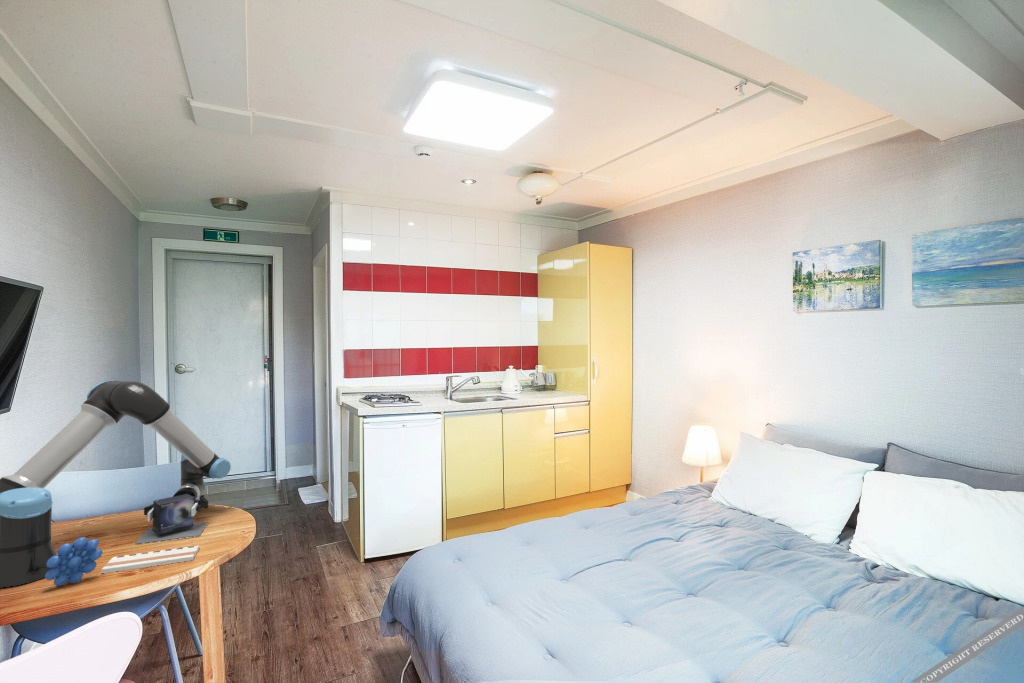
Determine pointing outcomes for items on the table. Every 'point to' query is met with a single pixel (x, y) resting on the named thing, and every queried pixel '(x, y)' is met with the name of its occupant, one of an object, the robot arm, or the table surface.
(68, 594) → the table surface
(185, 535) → the mat
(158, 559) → the board
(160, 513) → the small box
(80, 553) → the blue bumpy cluster
